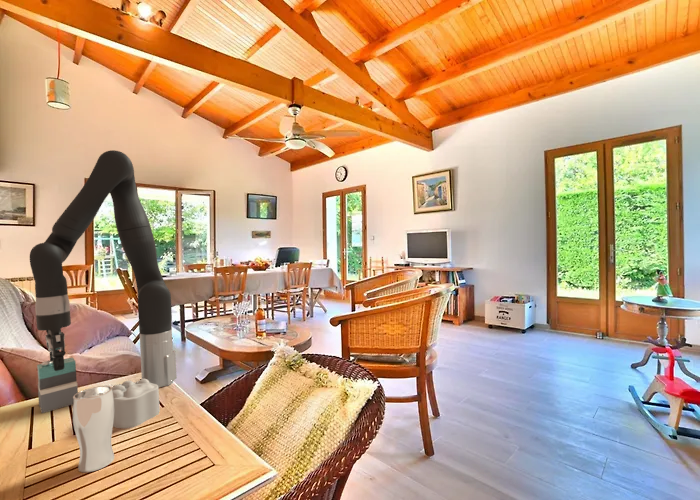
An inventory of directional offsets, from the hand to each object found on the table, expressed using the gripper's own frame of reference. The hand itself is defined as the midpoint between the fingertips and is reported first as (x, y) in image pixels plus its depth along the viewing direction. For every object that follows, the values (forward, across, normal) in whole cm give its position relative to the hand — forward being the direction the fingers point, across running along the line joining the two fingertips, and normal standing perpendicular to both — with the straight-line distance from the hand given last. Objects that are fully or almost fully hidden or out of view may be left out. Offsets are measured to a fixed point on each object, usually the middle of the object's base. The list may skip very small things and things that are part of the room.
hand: (57, 366), depth 100 cm
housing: (+5, 0, 0) cm, 5 cm away
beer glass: (+11, -43, -1) cm, 45 cm away
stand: (+11, 0, 0) cm, 11 cm away
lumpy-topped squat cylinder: (+11, -26, -12) cm, 30 cm away
